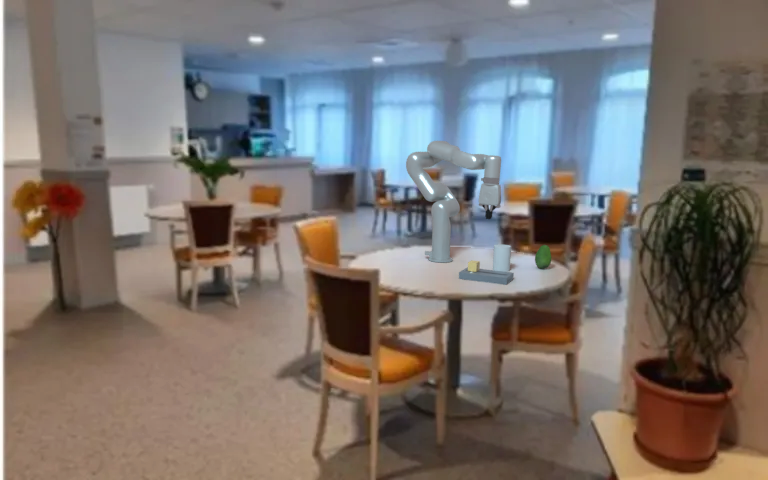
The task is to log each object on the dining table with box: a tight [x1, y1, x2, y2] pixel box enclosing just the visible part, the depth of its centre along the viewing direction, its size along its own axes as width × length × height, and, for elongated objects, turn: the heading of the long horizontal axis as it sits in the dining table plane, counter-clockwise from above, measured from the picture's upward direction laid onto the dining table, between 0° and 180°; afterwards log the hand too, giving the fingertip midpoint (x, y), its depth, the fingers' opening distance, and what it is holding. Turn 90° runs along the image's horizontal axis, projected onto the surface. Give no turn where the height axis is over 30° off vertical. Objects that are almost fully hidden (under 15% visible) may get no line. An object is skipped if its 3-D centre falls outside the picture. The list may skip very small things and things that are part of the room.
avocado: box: [534, 244, 552, 270], centre depth 288 cm, size 8×8×12 cm
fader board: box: [458, 266, 514, 286], centre depth 265 cm, size 22×12×3 cm, turn 63°
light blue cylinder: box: [492, 243, 512, 272], centre depth 283 cm, size 8×8×12 cm
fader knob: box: [467, 260, 481, 272], centre depth 267 cm, size 4×5×4 cm
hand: (488, 218), depth 284 cm, fingers closed
